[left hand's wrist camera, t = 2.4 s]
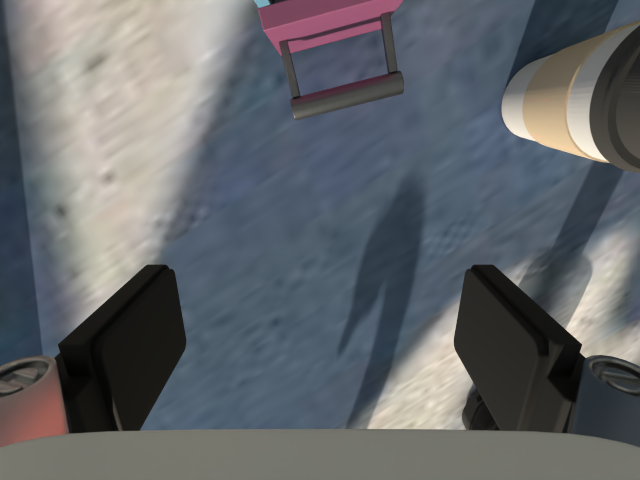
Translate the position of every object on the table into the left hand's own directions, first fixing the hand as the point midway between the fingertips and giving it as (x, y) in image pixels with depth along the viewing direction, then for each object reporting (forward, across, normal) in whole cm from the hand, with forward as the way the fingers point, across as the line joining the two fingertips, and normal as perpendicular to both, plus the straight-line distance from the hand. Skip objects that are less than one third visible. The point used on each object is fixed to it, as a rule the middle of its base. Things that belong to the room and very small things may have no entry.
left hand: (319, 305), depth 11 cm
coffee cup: (+25, +20, +7) cm, 33 cm away
